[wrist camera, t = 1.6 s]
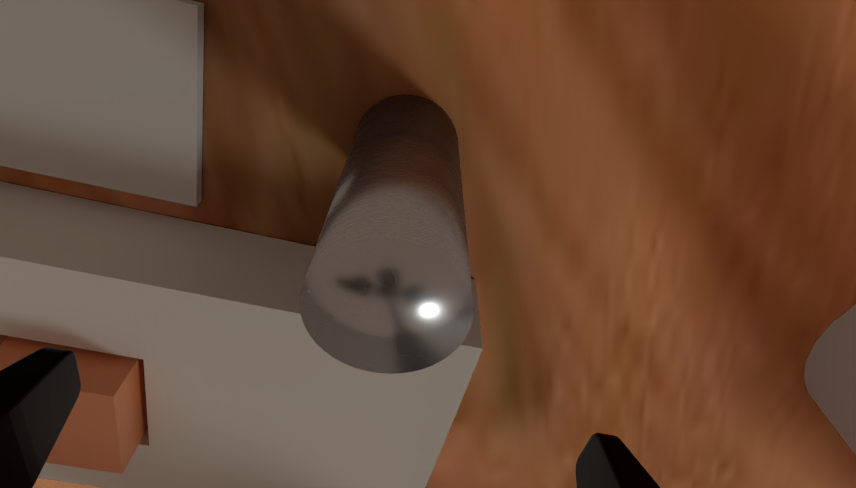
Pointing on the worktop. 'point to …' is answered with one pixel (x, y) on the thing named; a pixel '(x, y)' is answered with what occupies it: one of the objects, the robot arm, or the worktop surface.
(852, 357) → the cylinder with rectangular tab
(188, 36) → the rubber mat
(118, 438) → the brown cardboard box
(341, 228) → the shiny gray metallic cylinder
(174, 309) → the switch panel
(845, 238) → the worktop surface
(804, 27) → the worktop surface
